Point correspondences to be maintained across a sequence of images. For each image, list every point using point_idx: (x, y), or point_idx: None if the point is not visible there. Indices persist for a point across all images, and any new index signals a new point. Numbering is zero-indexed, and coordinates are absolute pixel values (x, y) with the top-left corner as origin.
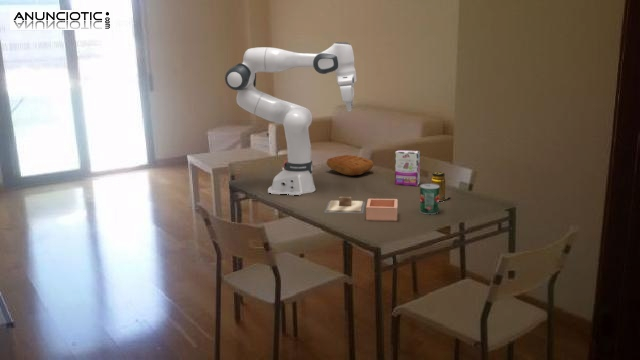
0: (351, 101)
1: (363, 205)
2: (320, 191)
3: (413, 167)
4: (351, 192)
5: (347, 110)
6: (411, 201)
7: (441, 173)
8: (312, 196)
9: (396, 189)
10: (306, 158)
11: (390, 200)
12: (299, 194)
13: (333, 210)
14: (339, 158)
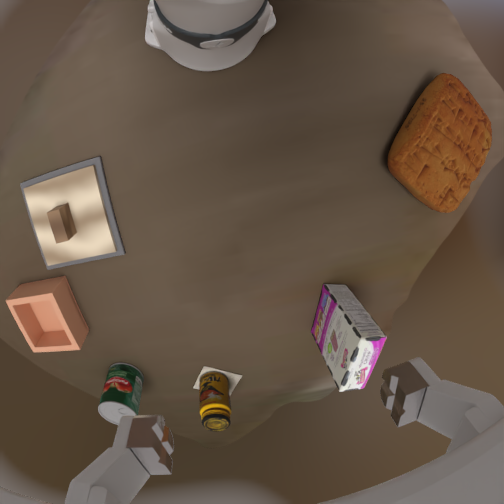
0: (448, 426)
1: (96, 256)
2: (212, 87)
3: (328, 354)
4: (221, 185)
5: (120, 424)
6: (179, 343)
7: (216, 428)
8: (151, 83)
9: (277, 296)
10: (174, 19)
11: (68, 337)
12: (149, 44)
13: (28, 204)
14: (459, 112)
